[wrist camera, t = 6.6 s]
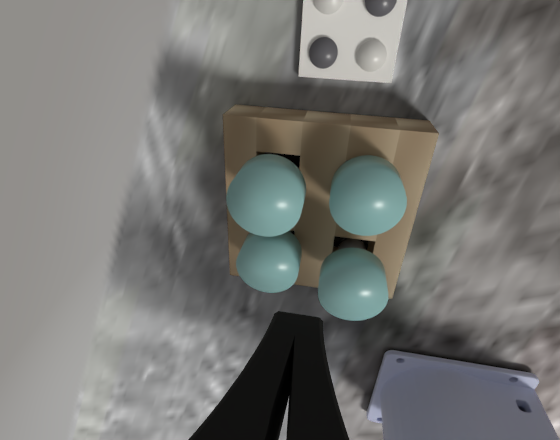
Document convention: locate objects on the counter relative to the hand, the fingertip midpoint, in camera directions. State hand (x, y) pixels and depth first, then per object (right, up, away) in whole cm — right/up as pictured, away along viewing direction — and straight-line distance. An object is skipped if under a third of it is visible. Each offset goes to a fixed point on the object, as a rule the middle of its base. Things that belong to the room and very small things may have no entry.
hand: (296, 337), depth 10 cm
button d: (-1, +6, +6) cm, 8 cm away
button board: (+2, +5, +8) cm, 9 cm away
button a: (+3, +2, +7) cm, 8 cm away
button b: (-1, +3, +9) cm, 9 cm away
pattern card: (+2, +11, +4) cm, 12 cm away
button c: (+4, +6, +6) cm, 9 cm away
